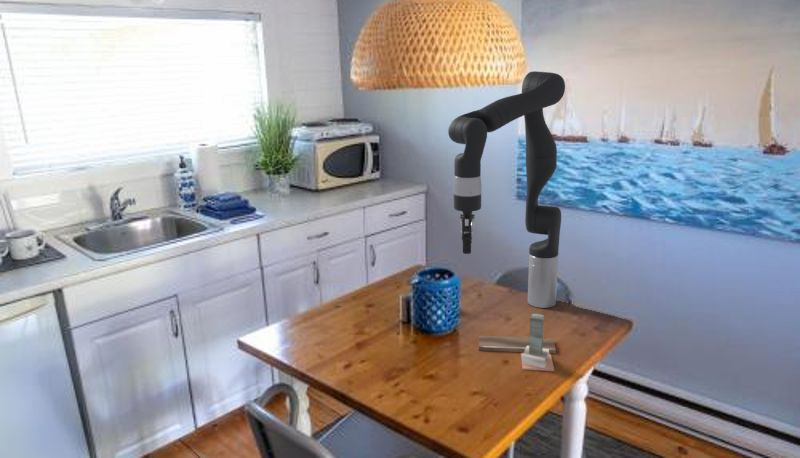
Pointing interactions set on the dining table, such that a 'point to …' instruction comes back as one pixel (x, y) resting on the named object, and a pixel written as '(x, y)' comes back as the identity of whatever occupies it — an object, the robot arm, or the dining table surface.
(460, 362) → the dining table surface
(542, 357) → the tall grey square pillar
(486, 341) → the grey-brown board
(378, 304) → the dining table surface
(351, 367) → the dining table surface
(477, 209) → the robot arm
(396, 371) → the dining table surface
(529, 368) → the end pad
